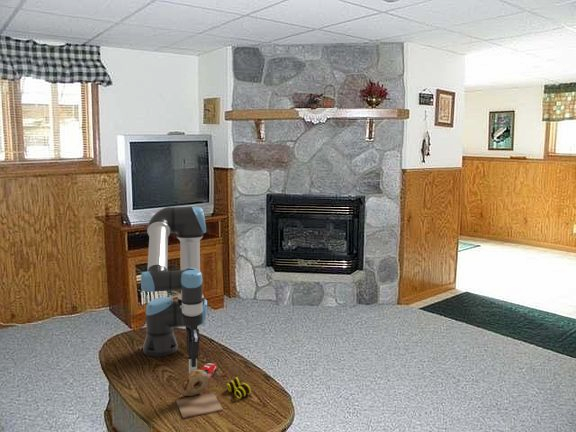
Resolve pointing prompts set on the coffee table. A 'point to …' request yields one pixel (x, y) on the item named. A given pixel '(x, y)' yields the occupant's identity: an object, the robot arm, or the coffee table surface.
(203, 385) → the stone disc
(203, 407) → the walnut board
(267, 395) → the coffee table surface
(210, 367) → the race car
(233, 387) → the opera glasses
